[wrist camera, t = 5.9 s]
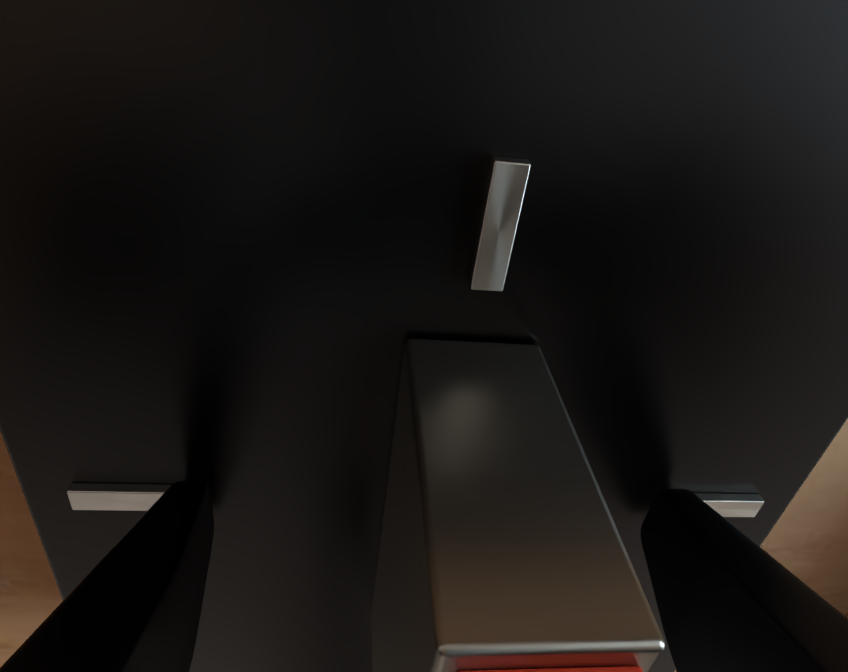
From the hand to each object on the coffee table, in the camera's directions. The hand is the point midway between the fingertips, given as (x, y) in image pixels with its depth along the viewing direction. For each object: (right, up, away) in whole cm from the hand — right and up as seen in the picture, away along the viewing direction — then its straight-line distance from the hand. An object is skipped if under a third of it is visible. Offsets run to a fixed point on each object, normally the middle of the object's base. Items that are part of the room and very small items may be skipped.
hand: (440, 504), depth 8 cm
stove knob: (0, 0, 0) cm, 0 cm away
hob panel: (0, +2, +3) cm, 3 cm away
